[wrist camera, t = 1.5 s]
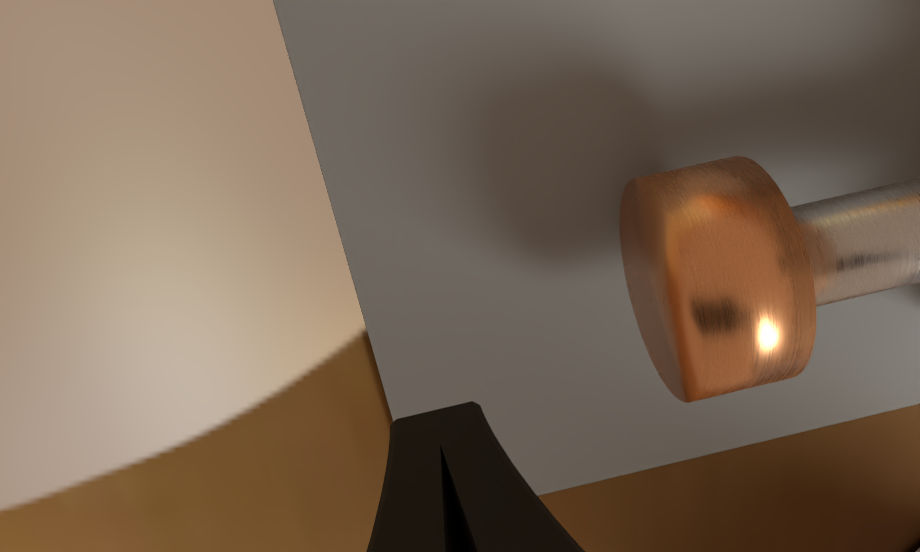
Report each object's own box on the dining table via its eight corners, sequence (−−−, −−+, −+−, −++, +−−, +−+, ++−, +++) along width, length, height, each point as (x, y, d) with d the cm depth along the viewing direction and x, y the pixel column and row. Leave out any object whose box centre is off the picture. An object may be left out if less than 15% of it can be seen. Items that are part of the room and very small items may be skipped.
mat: (1549, -379, 15) (1563, -380, 14) (1232, 322, 23) (1239, 326, 23) (242, -113, 13) (241, -112, 13) (421, 518, 22) (422, 523, 22)
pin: (1080, 38, 17) (1300, 114, 13) (1032, 221, 19) (1207, 330, 15) (613, 142, 16) (704, 250, 12) (625, 316, 19) (703, 451, 15)
